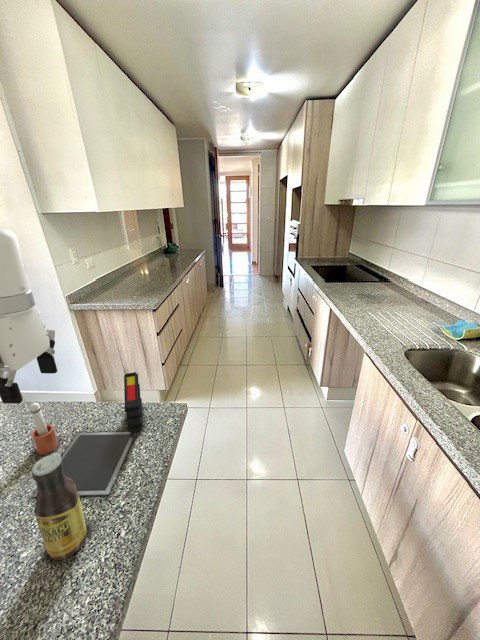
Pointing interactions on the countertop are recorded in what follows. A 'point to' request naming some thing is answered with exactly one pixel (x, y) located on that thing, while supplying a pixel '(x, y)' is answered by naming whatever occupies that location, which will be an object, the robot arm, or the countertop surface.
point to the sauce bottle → (58, 508)
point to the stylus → (38, 419)
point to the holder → (45, 440)
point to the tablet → (95, 460)
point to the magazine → (133, 402)
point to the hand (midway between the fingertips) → (32, 386)
